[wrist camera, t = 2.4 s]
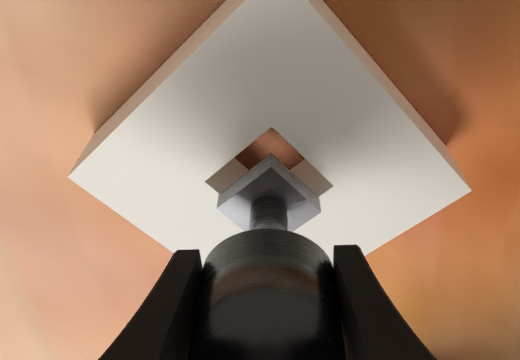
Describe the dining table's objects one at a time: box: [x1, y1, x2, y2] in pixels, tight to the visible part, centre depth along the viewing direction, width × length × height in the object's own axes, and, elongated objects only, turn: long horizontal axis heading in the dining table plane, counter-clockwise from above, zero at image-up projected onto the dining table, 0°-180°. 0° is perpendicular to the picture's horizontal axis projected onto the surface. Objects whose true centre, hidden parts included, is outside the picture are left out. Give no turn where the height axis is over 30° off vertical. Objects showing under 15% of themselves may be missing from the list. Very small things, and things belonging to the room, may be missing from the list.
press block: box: [68, 0, 472, 267], centre depth 18 cm, size 10×10×3 cm
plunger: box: [188, 153, 346, 360], centre depth 14 cm, size 4×4×7 cm
